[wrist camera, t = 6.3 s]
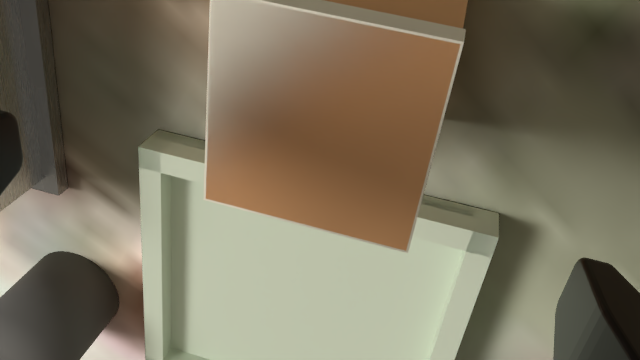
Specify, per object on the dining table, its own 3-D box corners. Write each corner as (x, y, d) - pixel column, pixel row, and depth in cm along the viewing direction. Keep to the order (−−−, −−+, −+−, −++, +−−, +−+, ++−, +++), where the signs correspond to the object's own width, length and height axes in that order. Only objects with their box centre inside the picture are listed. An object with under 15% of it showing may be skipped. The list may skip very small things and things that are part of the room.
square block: (475, -35, 16) (464, 41, 10) (435, 119, 18) (408, 252, 13) (311, -66, 17) (210, -11, 11) (293, 87, 19) (203, 199, 13)
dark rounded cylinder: (117, 265, 25) (58, 331, 22) (121, 332, 27) (68, 402, 24) (32, 241, 26) (-37, 302, 22) (43, 308, 28) (-19, 373, 24)
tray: (498, 213, 19) (499, 237, 18) (423, 425, 25) (420, 454, 24) (158, 129, 21) (138, 147, 20) (161, 345, 27) (145, 369, 26)
